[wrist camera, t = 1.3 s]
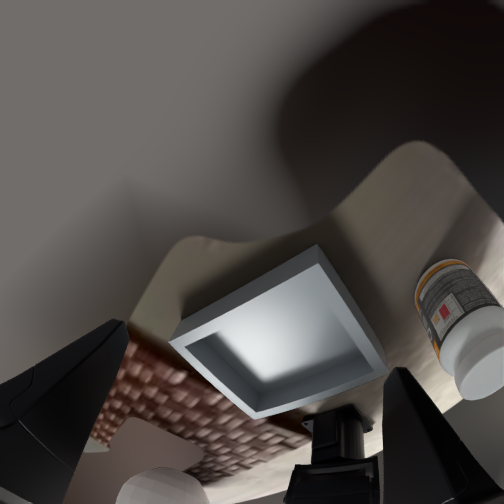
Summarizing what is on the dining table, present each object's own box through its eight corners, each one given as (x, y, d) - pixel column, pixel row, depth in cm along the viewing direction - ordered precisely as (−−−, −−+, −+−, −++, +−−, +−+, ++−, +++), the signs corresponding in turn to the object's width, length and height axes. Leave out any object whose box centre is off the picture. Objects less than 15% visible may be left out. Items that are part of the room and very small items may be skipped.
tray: (384, 348, 24) (389, 372, 21) (258, 397, 29) (254, 419, 27) (317, 243, 21) (318, 263, 18) (180, 320, 26) (168, 342, 24)
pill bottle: (399, 304, 22) (432, 401, 13) (436, 244, 19) (498, 327, 10) (447, 323, 22) (485, 409, 13) (482, 270, 19) (542, 347, 10)
